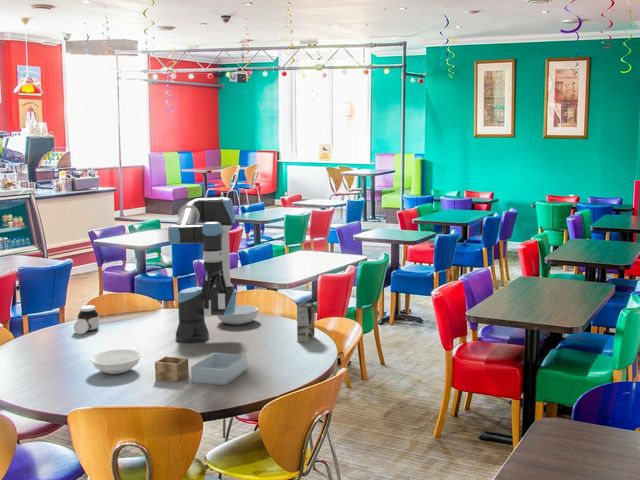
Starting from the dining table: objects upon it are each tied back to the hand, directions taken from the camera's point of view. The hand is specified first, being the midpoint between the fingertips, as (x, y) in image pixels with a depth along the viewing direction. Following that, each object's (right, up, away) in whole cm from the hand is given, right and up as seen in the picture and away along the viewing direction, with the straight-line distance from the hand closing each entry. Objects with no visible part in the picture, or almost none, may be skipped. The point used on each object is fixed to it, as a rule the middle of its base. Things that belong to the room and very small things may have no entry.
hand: (214, 312), depth 309 cm
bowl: (-39, -24, -4) cm, 45 cm away
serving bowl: (+2, -12, +70) cm, 71 cm away
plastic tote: (+3, -24, -11) cm, 26 cm away
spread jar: (-69, -15, +58) cm, 91 cm away
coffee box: (+36, -16, +39) cm, 55 cm away
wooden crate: (-15, -24, -12) cm, 31 cm away
